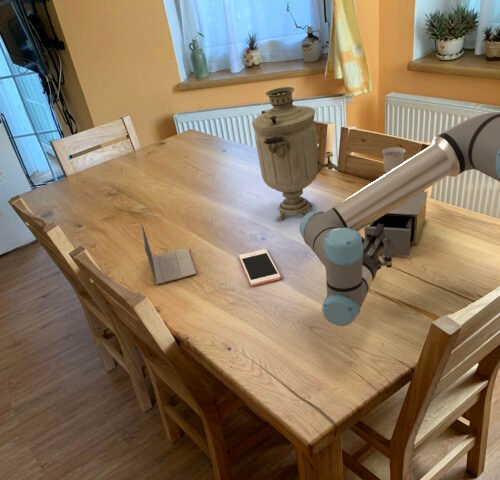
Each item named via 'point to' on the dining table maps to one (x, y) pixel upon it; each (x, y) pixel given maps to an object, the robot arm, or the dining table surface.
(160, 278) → the laptop
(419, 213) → the cabinet
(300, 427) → the dining table surface
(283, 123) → the samovar
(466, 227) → the dining table surface
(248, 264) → the cell phone
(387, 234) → the drawer
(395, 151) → the chalice
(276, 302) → the dining table surface
